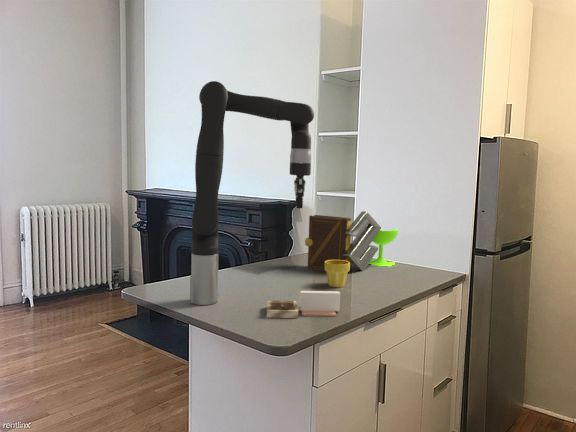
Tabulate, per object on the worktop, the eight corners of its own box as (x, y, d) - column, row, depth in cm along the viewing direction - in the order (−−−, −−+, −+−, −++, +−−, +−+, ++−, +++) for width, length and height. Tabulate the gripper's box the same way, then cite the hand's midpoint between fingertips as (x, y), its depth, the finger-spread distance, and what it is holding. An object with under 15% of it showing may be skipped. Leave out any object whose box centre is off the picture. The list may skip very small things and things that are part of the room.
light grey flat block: (339, 311, 163) (300, 310, 162) (338, 308, 165) (300, 308, 165) (340, 293, 162) (301, 292, 162) (339, 291, 165) (300, 290, 164)
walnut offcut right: (283, 313, 158) (283, 303, 157) (283, 311, 160) (283, 300, 160) (293, 313, 158) (294, 303, 158) (293, 311, 160) (293, 301, 160)
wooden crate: (351, 271, 227) (353, 218, 224) (343, 275, 220) (345, 219, 217) (310, 265, 238) (311, 214, 236) (301, 268, 231) (302, 215, 229)
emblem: (370, 265, 242) (372, 209, 239) (379, 267, 239) (382, 210, 236) (338, 274, 221) (341, 212, 218) (348, 276, 217) (351, 213, 214)
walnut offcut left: (270, 313, 158) (271, 302, 157) (270, 311, 160) (271, 300, 160) (281, 313, 158) (281, 302, 157) (281, 311, 160) (281, 300, 160)
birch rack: (266, 317, 156) (266, 310, 156) (266, 307, 167) (267, 300, 167) (298, 318, 156) (298, 310, 156) (296, 307, 167) (296, 301, 167)
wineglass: (383, 268, 235) (384, 231, 233) (357, 263, 247) (359, 227, 245) (402, 265, 246) (404, 229, 244) (377, 259, 258) (379, 225, 256)
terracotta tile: (302, 315, 159) (302, 313, 159) (300, 306, 169) (300, 305, 169) (336, 316, 159) (336, 314, 159) (332, 307, 169) (332, 305, 169)
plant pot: (318, 285, 200) (319, 261, 199) (334, 281, 207) (334, 258, 206) (338, 290, 193) (339, 265, 192) (354, 285, 200) (355, 262, 199)
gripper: (289, 161, 182) (288, 205, 184) (290, 161, 168) (288, 208, 170) (309, 162, 182) (308, 205, 184) (312, 162, 168) (310, 209, 170)
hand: (298, 207), depth 177 cm, fingers open, 8 cm apart
